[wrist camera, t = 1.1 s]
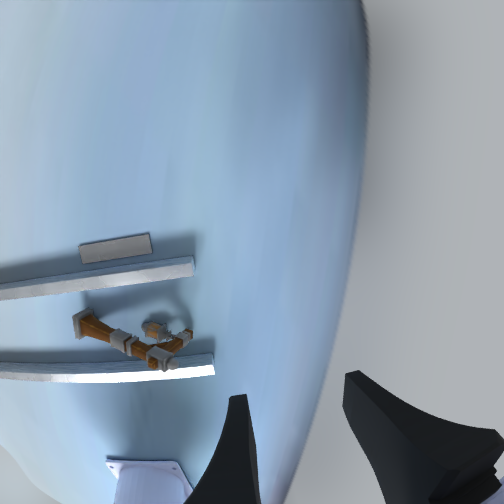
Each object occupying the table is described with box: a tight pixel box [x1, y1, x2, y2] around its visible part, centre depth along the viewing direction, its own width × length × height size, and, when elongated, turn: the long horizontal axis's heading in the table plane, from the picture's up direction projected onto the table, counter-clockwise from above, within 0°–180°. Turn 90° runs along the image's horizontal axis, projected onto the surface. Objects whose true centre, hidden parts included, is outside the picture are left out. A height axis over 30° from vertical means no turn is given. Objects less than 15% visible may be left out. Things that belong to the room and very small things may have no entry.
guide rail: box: [0, 234, 215, 382], centre depth 18 cm, size 10×26×2 cm, turn 96°
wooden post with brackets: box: [72, 308, 193, 373], centre depth 19 cm, size 2×8×4 cm, turn 83°
